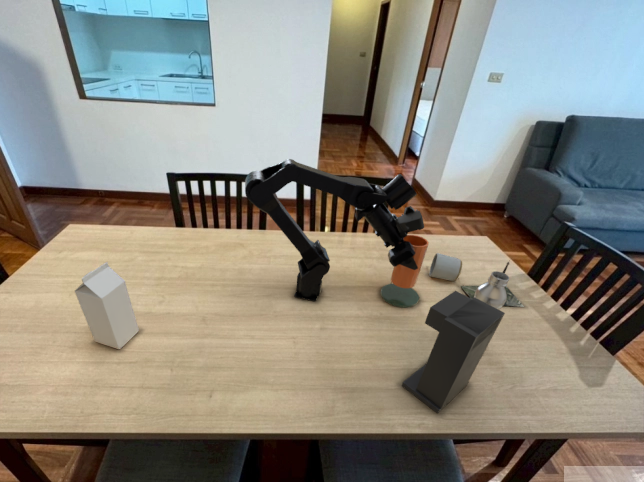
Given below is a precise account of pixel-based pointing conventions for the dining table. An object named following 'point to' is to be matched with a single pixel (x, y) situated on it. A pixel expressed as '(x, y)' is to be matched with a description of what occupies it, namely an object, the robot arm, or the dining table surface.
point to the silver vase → (510, 299)
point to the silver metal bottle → (493, 290)
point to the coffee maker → (453, 348)
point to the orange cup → (405, 275)
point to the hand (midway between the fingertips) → (414, 262)
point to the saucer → (399, 296)
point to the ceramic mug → (445, 267)
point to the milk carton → (107, 307)
